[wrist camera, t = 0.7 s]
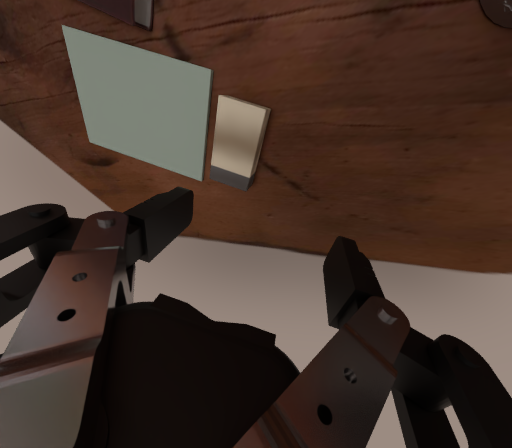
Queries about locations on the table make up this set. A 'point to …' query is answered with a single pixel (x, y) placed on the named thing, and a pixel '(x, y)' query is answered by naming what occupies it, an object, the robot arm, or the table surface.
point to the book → (127, 10)
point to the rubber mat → (142, 102)
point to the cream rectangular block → (237, 141)
